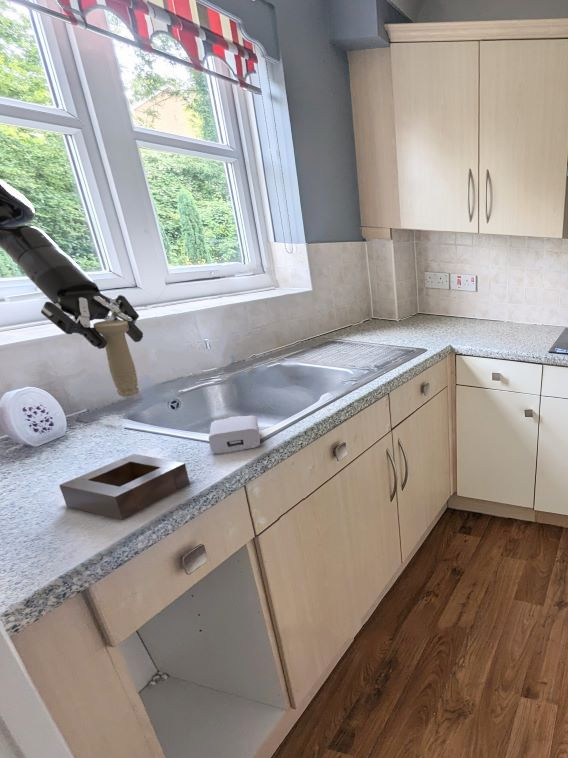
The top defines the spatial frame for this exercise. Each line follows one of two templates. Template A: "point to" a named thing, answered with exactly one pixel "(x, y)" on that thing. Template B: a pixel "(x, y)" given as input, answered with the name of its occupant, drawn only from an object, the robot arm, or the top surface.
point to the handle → (119, 356)
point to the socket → (125, 486)
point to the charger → (234, 434)
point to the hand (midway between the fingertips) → (122, 342)
